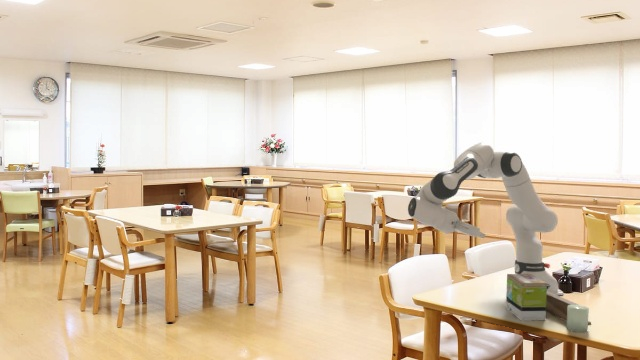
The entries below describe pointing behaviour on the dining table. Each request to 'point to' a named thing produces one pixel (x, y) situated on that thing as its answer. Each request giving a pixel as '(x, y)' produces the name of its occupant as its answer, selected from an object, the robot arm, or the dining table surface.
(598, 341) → the dining table surface
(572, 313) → the mint green canister
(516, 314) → the tea box
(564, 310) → the walnut rail
